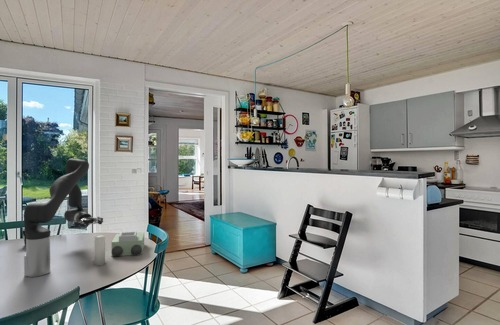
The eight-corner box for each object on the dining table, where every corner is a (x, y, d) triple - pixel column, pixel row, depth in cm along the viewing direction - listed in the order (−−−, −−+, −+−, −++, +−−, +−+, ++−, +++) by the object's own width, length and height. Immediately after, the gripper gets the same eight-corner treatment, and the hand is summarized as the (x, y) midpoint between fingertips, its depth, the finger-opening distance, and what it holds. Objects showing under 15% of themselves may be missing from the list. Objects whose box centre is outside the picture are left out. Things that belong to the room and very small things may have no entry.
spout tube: (93, 265, 150) (93, 238, 150) (95, 262, 155) (95, 235, 154) (104, 264, 151) (104, 237, 151) (105, 261, 156) (106, 235, 156)
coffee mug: (37, 246, 179) (37, 230, 179) (20, 247, 176) (20, 231, 176) (43, 241, 190) (42, 225, 190) (26, 242, 187) (26, 226, 187)
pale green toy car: (111, 257, 162) (111, 237, 162) (117, 245, 183) (117, 228, 182) (141, 255, 167) (141, 235, 166) (144, 244, 187) (144, 226, 187)
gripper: (69, 214, 166) (78, 218, 155) (96, 210, 177) (106, 215, 165) (69, 227, 167) (78, 233, 155) (96, 223, 177) (106, 228, 166)
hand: (92, 223), depth 160 cm, fingers open, 8 cm apart
